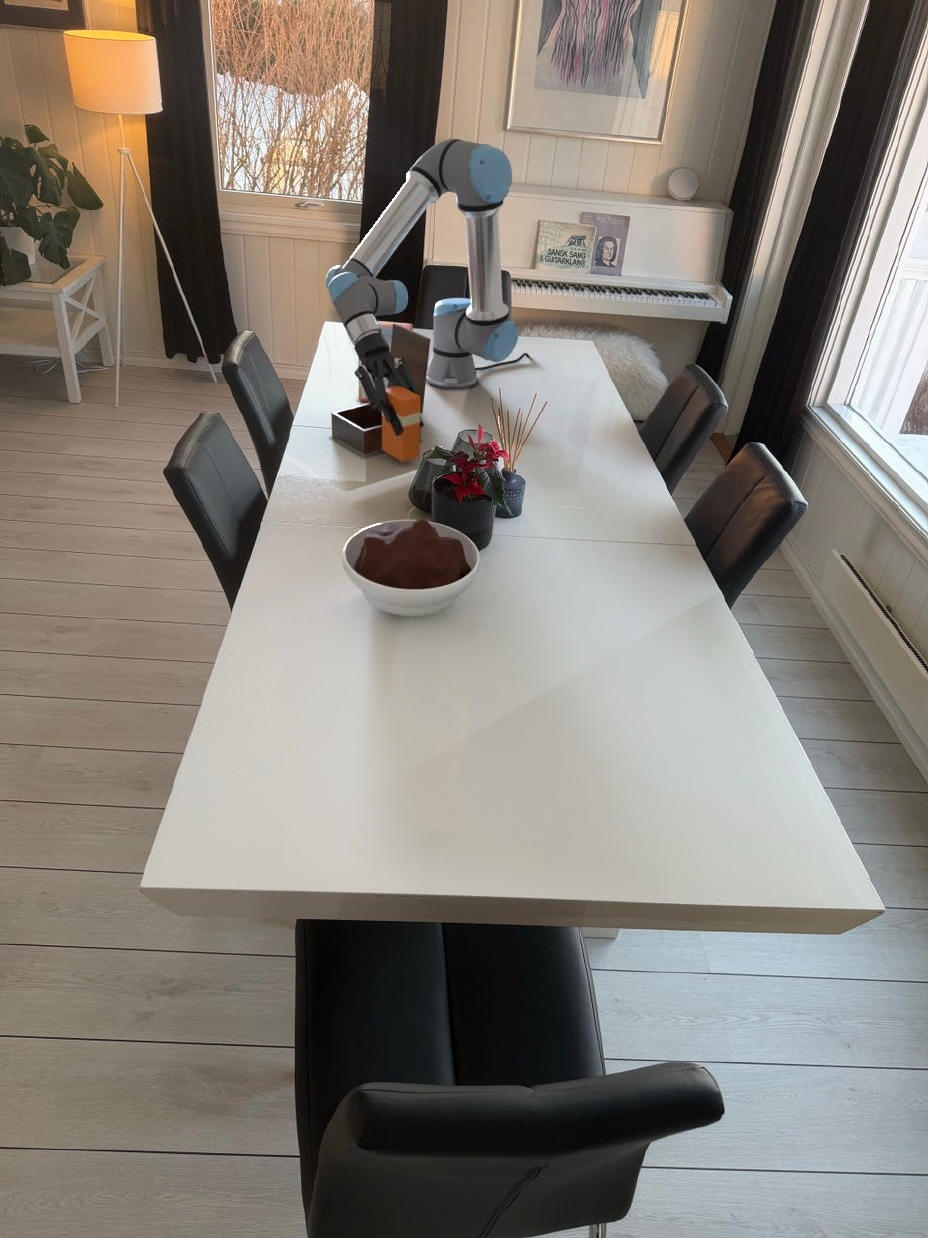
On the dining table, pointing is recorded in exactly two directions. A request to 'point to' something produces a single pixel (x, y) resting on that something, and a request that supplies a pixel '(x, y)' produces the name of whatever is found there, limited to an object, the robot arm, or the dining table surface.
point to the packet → (409, 417)
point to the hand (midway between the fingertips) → (410, 430)
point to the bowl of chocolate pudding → (410, 565)
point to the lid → (412, 356)
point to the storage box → (359, 428)
